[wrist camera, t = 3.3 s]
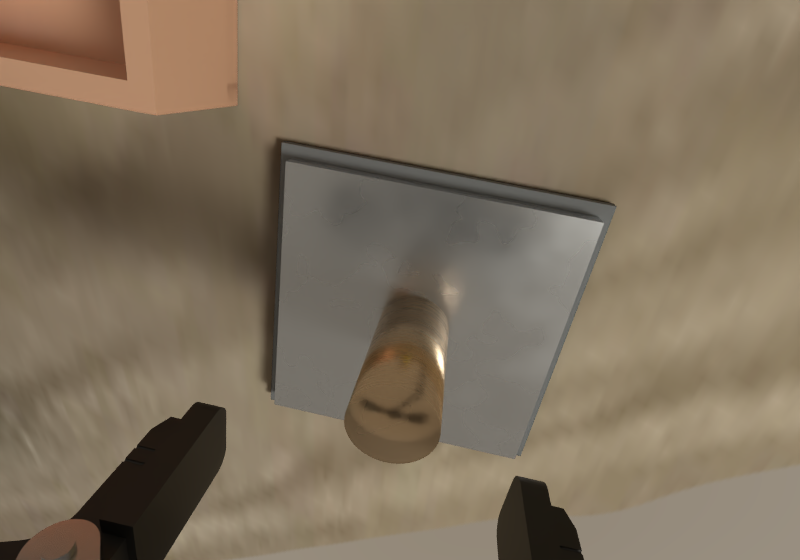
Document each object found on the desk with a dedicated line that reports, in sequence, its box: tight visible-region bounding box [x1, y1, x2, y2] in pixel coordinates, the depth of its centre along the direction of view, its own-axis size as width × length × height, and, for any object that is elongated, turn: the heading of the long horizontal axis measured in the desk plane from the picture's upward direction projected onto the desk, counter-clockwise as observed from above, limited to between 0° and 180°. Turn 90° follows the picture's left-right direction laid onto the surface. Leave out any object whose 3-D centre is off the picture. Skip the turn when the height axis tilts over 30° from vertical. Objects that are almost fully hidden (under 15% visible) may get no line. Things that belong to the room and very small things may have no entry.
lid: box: [274, 158, 604, 464], centre depth 17 cm, size 12×12×7 cm
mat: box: [271, 141, 616, 456], centre depth 20 cm, size 13×13×1 cm
